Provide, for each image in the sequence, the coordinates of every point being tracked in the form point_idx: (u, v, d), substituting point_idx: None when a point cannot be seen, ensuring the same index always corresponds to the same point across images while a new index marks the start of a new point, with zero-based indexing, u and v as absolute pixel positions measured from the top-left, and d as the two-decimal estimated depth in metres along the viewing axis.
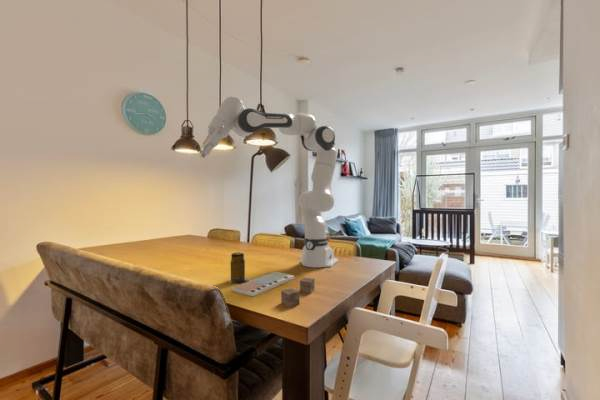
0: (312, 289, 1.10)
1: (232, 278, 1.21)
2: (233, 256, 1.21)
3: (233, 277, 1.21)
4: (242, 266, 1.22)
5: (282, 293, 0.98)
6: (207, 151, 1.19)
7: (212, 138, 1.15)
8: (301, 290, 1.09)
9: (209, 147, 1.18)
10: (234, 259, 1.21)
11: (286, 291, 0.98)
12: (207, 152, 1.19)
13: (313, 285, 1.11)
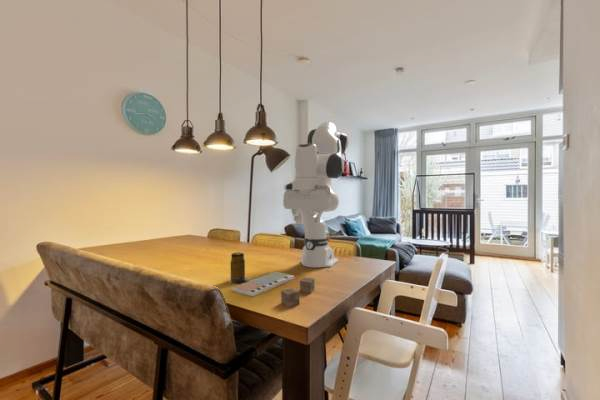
0: (312, 289, 1.10)
1: (232, 278, 1.21)
2: (233, 256, 1.21)
3: (233, 277, 1.21)
4: (242, 266, 1.22)
5: (282, 293, 0.98)
6: (318, 218, 1.07)
7: (327, 206, 1.03)
8: (301, 290, 1.09)
9: (320, 214, 1.06)
10: (234, 259, 1.21)
11: (286, 291, 0.98)
12: (319, 219, 1.07)
13: (313, 285, 1.11)
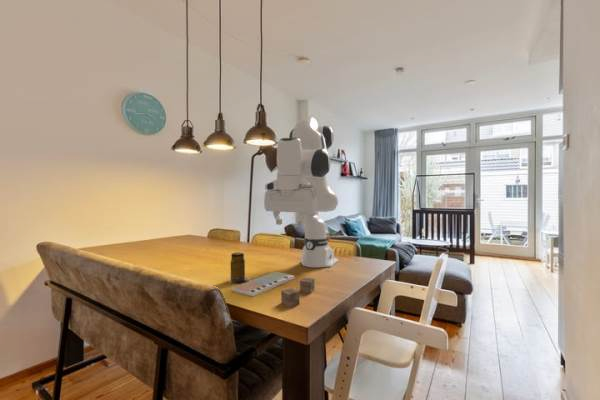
0: (312, 289, 1.10)
1: (232, 278, 1.21)
2: (233, 256, 1.21)
3: (233, 277, 1.21)
4: (242, 266, 1.22)
5: (282, 293, 0.98)
6: (303, 222, 0.94)
7: (313, 208, 0.91)
8: (301, 290, 1.09)
9: (305, 217, 0.94)
10: (234, 259, 1.21)
11: (286, 291, 0.98)
12: (303, 223, 0.94)
13: (313, 285, 1.11)
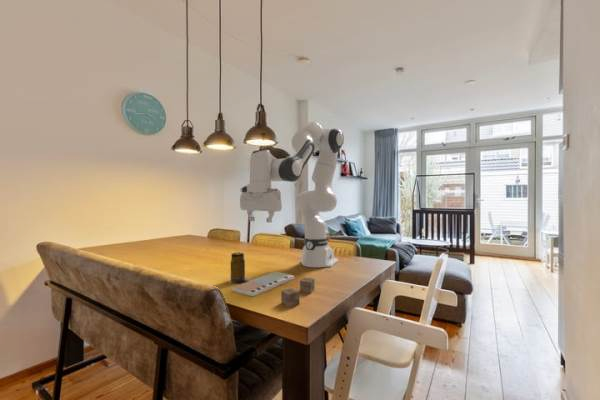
0: (312, 289, 1.10)
1: (232, 278, 1.21)
2: (233, 256, 1.21)
3: (233, 277, 1.21)
4: (242, 266, 1.22)
5: (282, 293, 0.98)
6: (270, 219, 1.15)
7: (277, 207, 1.12)
8: (301, 290, 1.09)
9: (271, 214, 1.15)
10: (234, 259, 1.21)
11: (286, 291, 0.98)
12: (270, 219, 1.16)
13: (313, 285, 1.11)
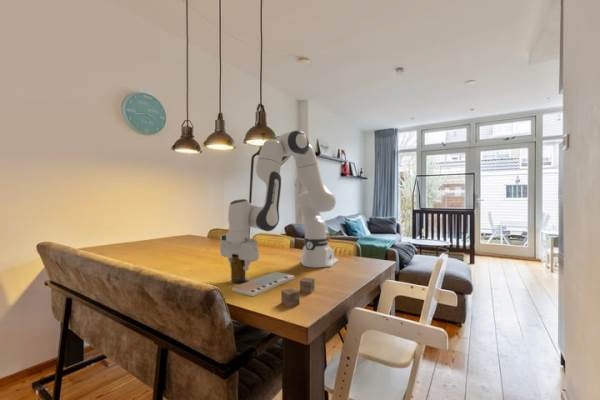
0: (312, 289, 1.10)
1: (232, 278, 1.21)
2: (234, 256, 1.21)
3: (234, 277, 1.21)
4: None
5: (282, 293, 0.98)
6: (246, 267, 1.20)
7: (254, 258, 1.16)
8: (301, 290, 1.09)
9: (248, 263, 1.20)
10: (235, 259, 1.21)
11: (286, 291, 0.98)
12: (247, 268, 1.21)
13: (313, 285, 1.11)
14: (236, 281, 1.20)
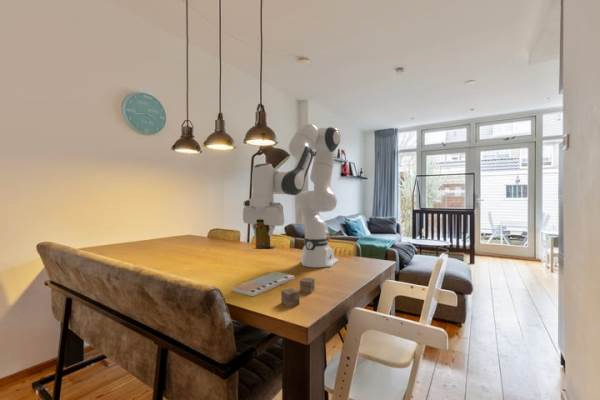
0: (312, 289, 1.10)
1: (257, 244, 1.17)
2: (258, 221, 1.17)
3: (259, 243, 1.16)
4: None
5: (282, 293, 0.98)
6: (271, 232, 1.16)
7: (280, 222, 1.12)
8: (301, 290, 1.09)
9: (272, 228, 1.16)
10: (259, 224, 1.16)
11: (286, 291, 0.98)
12: (271, 233, 1.17)
13: (313, 285, 1.11)
14: (261, 247, 1.16)
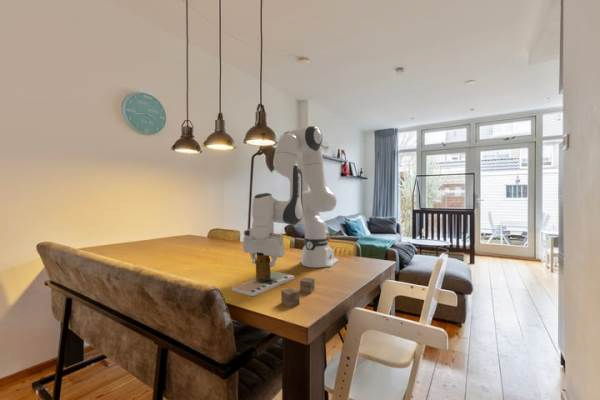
0: (312, 289, 1.10)
1: (258, 277, 1.17)
2: (259, 255, 1.17)
3: (259, 277, 1.17)
4: (268, 265, 1.18)
5: (282, 293, 0.98)
6: (273, 263, 1.16)
7: (280, 253, 1.13)
8: (301, 290, 1.09)
9: (274, 259, 1.16)
10: (260, 258, 1.17)
11: (286, 291, 0.98)
12: (273, 264, 1.16)
13: (313, 285, 1.11)
14: (261, 280, 1.17)
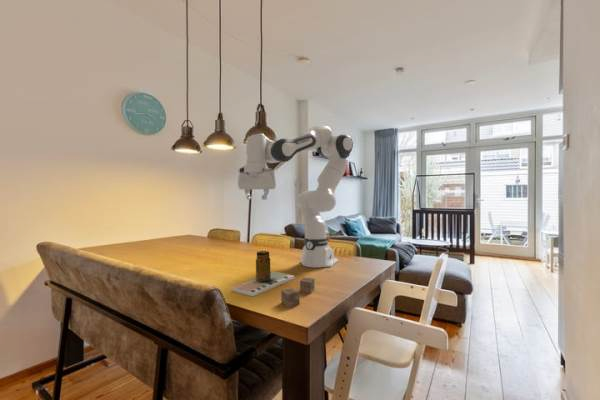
0: (312, 289, 1.10)
1: (258, 277, 1.17)
2: (259, 254, 1.17)
3: (259, 277, 1.17)
4: (268, 265, 1.18)
5: (282, 293, 0.98)
6: (265, 196, 1.27)
7: (271, 185, 1.23)
8: (301, 290, 1.09)
9: (266, 192, 1.26)
10: (260, 258, 1.17)
11: (286, 291, 0.98)
12: (265, 197, 1.27)
13: (313, 285, 1.11)
14: (261, 280, 1.17)
